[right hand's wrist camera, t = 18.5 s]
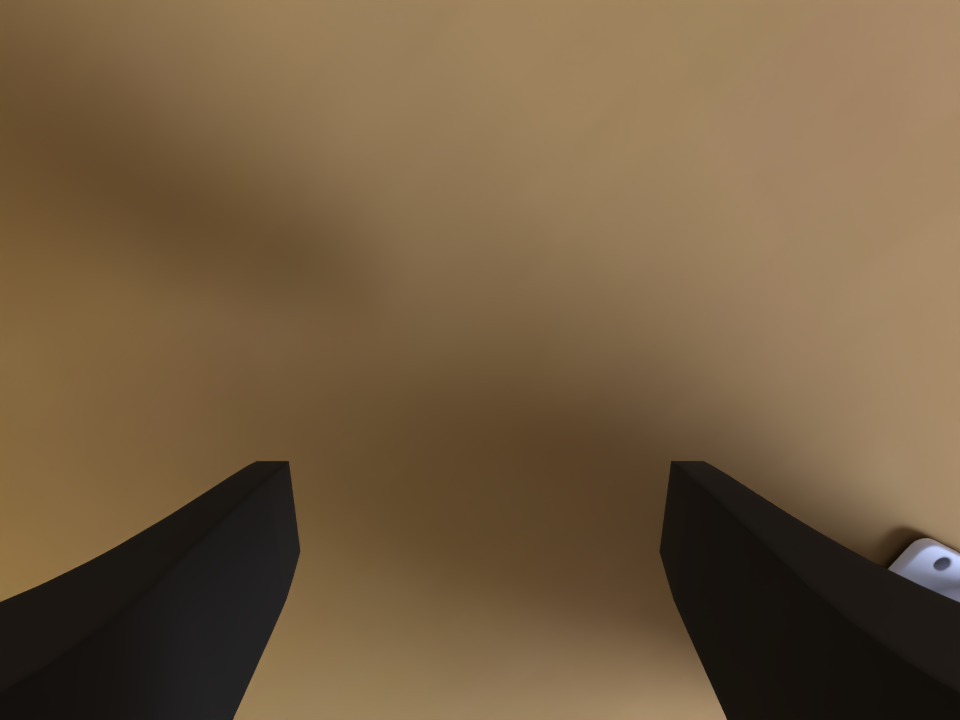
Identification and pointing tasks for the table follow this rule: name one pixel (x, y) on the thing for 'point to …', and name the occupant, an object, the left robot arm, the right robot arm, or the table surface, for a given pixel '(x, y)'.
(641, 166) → the table surface
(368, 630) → the table surface
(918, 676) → the right robot arm
